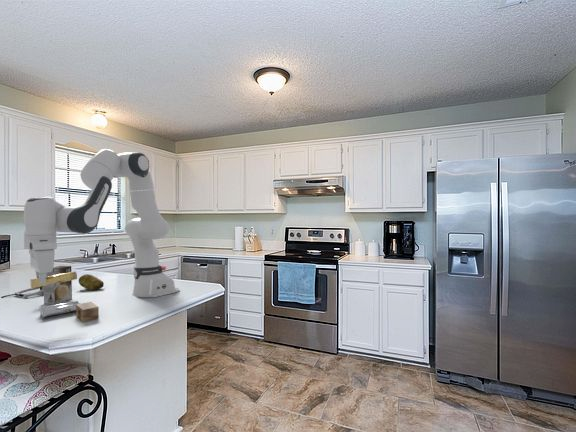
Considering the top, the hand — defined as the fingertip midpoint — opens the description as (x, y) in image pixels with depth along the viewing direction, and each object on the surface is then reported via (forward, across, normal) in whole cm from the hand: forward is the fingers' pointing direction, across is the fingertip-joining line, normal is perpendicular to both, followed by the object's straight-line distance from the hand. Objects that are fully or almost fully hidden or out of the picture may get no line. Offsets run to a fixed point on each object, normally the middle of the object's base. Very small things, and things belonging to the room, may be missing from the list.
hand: (41, 282), depth 108 cm
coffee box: (+17, -42, +12) cm, 47 cm away
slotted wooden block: (+17, +1, +13) cm, 22 cm away
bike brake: (+17, -66, +5) cm, 69 cm away
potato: (+17, -58, +29) cm, 67 cm away
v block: (+17, -12, +8) cm, 22 cm away
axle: (+1, 0, +4) cm, 4 cm away
